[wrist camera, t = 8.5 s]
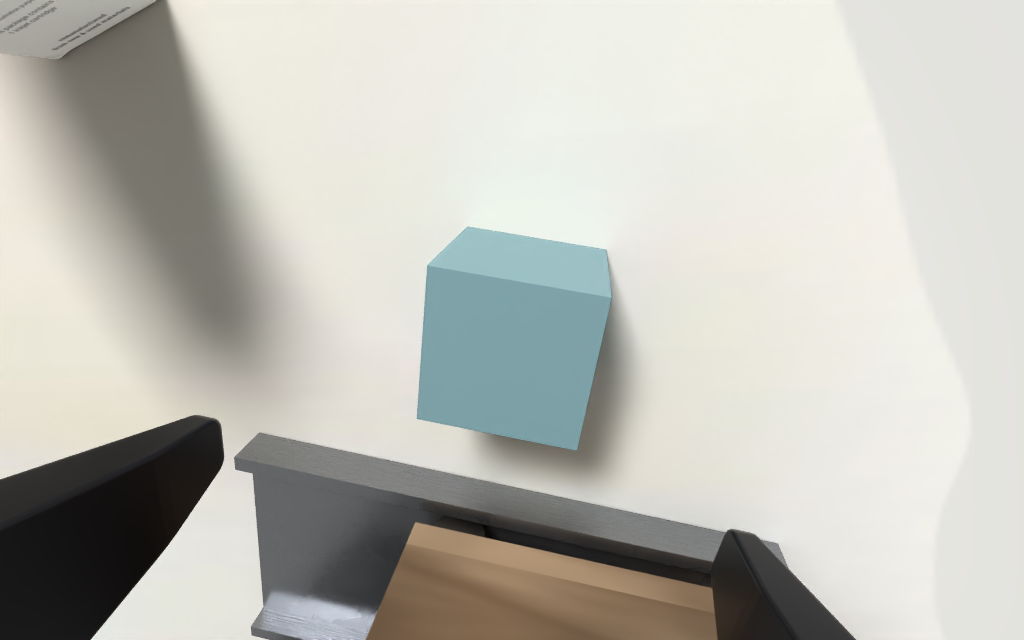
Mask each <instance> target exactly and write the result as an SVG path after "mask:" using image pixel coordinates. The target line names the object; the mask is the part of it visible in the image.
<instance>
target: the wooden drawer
mask: <svg viewBox="0 0 1024 640" xmlns="http://www.w3.org/2000/svg"><path fill="white" fill-rule="evenodd" d="M366 640H717V631H716V621H715V612H714V602H713V592H712V582H711V574H706V575H705V576H704V579H703V581H702V583H701V586H700V585H696V584H691V583H687V582H682V581H678V580H673V579H669V578H664V577H660V576H655V575H651V574H646V573H642V572H637V571H633V570H628V569H624V568H619V567H615V566H610V565H606V564H601V563H597V562H592V561H588V560H583V559H579V558H574V557H570V556H565V555H561V554H556V553H552V552H547V551H543V550H538V549H534V548H529V547H525V546H520V545H516V544H511V543H507V542H502V541H498V540H493V539H489V538H485V531H484V528H483V526H482V524H480V523H476V522H471V521H467V520H462V519H458V518H453V517H449V516H442V517H441V518H439V519H438V520H437V521H436V522H435V523H434V525H433V526H430V525H426V524H421V523H417V522H415V524H414V527H413V529H412V531H411V534H410V536H409V538H408V541H407V543H406V545H405V548H404V550H403V552H402V555H401V557H400V560H399V562H398V564H397V567H396V569H395V571H394V574H393V576H392V578H391V581H390V583H389V586H388V588H387V590H386V593H385V595H384V597H383V600H382V602H381V604H380V607H379V609H378V612H377V614H376V616H375V619H374V621H373V623H372V626H371V628H370V630H369V633H368V635H367V637H366Z"/></svg>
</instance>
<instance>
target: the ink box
mask: <svg viewBox="0 0 1024 640" xmlns="http://www.w3.org/2000/svg"><path fill="white" fill-rule="evenodd" d="M155 1H157V0H0V53H1V54H10V55H20V56H30V57H39V58H48V59H54V60H55V59H59V58H61V57H63V56H64V55H65V54H66V53H67V52H69V51H70V50H71V49H73V48H75V47H77V46H79V45H80V44H82V43H84V42H86V41H88V40H89V39H91V38H93V37H95V36H97V35H98V34H100V33H102V32H103V31H105V30H107V29H108V28H110V27H112V26H114V25H116V24H117V23H119V22H121V21H123V20H124V19H126V18H128V17H130V16H131V15H133V14H135V13H136V12H138V11H140V10H141V9H143V8H145V7H147V6H148V5H150V4H152V3H153V2H155Z"/></svg>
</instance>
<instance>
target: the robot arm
mask: <svg viewBox="0 0 1024 640" xmlns="http://www.w3.org/2000/svg"><path fill="white" fill-rule="evenodd" d="M223 461H224V448H223V439H222V429H221V424H220V422H219V421H218V420H216V419H214V418H210V417H205V416H200V415H193V416H190V417H187V418H184V419H181V420H178V421H175V422H172V423H169V424H166V425H163V426H160V427H157V428H154V429H151V430H148V431H145V432H142V433H139V434H136V435H133V436H130V437H127V438H124V439H121V440H118V441H115V442H112V443H109V444H106V445H103V446H100V447H97V448H94V449H91V450H88V451H85V452H81V453H78V454H75V455H72V456H69V457H66V458H63V459H60V460H57V461H54V462H51V463H48V464H45V465H42V466H39V467H36V468H33V469H30V470H27V471H24V472H21V473H18V474H15V475H12V476H9V477H6V478H3V479H0V640H91V639H92V637H93V636H94V635H95V634H96V633H97V631H98V630H99V629H100V628H101V627H102V625H103V624H104V623H105V622H106V620H107V619H108V618H109V617H110V616H111V614H112V613H113V612H114V611H115V610H116V608H117V607H118V606H119V605H120V603H121V602H122V601H123V600H124V599H125V597H126V596H127V595H128V594H129V593H130V591H131V590H132V589H133V588H134V587H135V585H136V584H137V583H138V582H139V580H140V579H141V578H142V577H143V576H144V574H145V573H146V572H147V571H148V570H149V568H150V567H151V566H152V565H153V563H154V562H155V561H156V560H157V559H158V557H159V556H160V555H161V554H162V552H163V551H164V550H165V548H166V547H167V546H168V545H169V543H170V542H171V540H172V539H173V538H174V536H175V535H176V534H177V532H178V531H179V529H180V528H181V526H182V525H183V523H184V522H185V520H186V519H187V518H188V516H189V515H190V513H191V512H192V510H193V509H194V507H195V506H196V504H197V503H198V501H199V500H200V498H201V497H202V495H203V494H204V493H205V491H206V490H207V488H208V487H209V485H210V484H211V482H212V481H213V479H214V478H215V476H216V475H217V473H218V472H219V470H220V469H221V467H222V464H223ZM711 582H712V592H713V602H714V612H715V621H716V631H717V640H856V639H855V638H854V637H853V636H852V635H851V634H850V633H849V632H848V631H847V630H846V628H845V627H844V626H843V625H842V624H841V623H840V622H839V621H838V620H837V619H836V618H835V617H834V616H833V615H832V614H831V613H830V612H829V611H828V610H827V609H826V608H825V607H824V605H823V604H822V603H821V602H820V601H819V600H818V599H817V598H816V597H815V596H814V595H813V594H812V593H811V592H810V591H809V590H808V589H807V588H806V587H805V586H804V585H803V584H802V583H801V581H800V580H799V579H798V578H797V577H796V576H795V575H794V574H793V573H792V572H791V571H790V570H789V569H788V568H787V567H786V566H785V565H784V564H783V563H782V562H781V561H780V560H779V558H778V557H777V556H776V555H775V554H774V553H773V552H772V551H771V550H770V549H769V548H768V547H767V546H766V545H765V544H764V543H763V542H762V541H761V540H760V539H759V538H758V537H757V536H756V535H755V534H753V533H750V532H745V531H740V530H736V529H730V530H728V531H727V532H726V533H725V535H724V537H723V539H722V542H721V544H720V547H719V549H718V551H717V554H716V556H715V559H714V561H713V564H712V568H711Z"/></svg>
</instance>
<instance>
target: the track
mask: <svg viewBox="0 0 1024 640" xmlns="http://www.w3.org/2000/svg"><path fill="white" fill-rule="evenodd" d="M234 460H235V470H240V471H244V472H249V473H253V481H254V494H255V506H256V518H257V531H258V543H259V555H260V568H261V580H262V592H263V605H264V608H263V609H262V611H261V612H260V614H259V615H258V617H257V618H256V620H255V621H254V623H253V624H252V626H251V633H252V635H253V636H257V637H261V638H265V639H269V640H366V637H367V635H368V633H369V630H370V628H371V626H372V623H373V621H374V619H375V616H376V614H377V612H378V609H379V607H380V604H381V602H382V600H383V597H384V595H385V593H386V590H387V588H388V586H389V583H390V581H391V578H392V576H393V574H394V571H395V569H396V567H397V564H398V562H399V560H400V557H401V555H402V552H403V550H404V548H405V545H406V543H407V541H408V538H409V536H410V534H411V531H412V529H413V527H414V524H415V522H417V523H421V524H426V525H430V526H433V525H434V523H435V522H436V521H437V520H438V519H439V518H441V517H442V516H449V517H453V518H458V519H462V520H467V521H471V522H476V523H480V524H482V526H483V528H484V531H485V538H489V539H493V540H498V541H502V542H507V543H511V544H516V545H520V546H525V547H529V548H534V549H538V550H543V551H547V552H552V553H556V554H561V555H565V556H570V557H574V558H579V559H583V560H588V561H592V562H597V563H601V564H606V565H610V566H615V567H619V568H624V569H628V570H633V571H637V572H642V573H646V574H651V575H655V576H660V577H664V578H669V579H673V580H678V581H682V582H687V583H691V584H696V585H700V586H701V583H702V581H703V579H704V576H705V575H706V574H711V568H712V564H713V561H714V559H715V556H716V554H717V551H718V549H719V547H720V544H721V542H722V539H723V537H724V535H725V532H720V531H716V530H711V529H706V528H702V527H697V526H692V525H688V524H683V523H678V522H674V521H669V520H664V519H660V518H655V517H650V516H646V515H641V514H636V513H632V512H627V511H622V510H618V509H613V508H608V507H604V506H599V505H594V504H590V503H585V502H580V501H576V500H571V499H566V498H561V497H557V496H552V495H547V494H543V493H538V492H533V491H529V490H524V489H519V488H515V487H510V486H505V485H501V484H496V483H491V482H487V481H482V480H477V479H473V478H468V477H463V476H459V475H454V474H449V473H445V472H440V471H435V470H431V469H426V468H421V467H417V466H412V465H407V464H403V463H398V462H393V461H389V460H384V459H379V458H375V457H370V456H365V455H361V454H356V453H351V452H347V451H342V450H337V449H332V448H328V447H323V446H318V445H314V444H309V443H304V442H300V441H295V440H290V439H286V438H281V437H276V436H272V435H267V434H262V433H259V434H257V435H256V436H255V437H254V438H253V439H252V440H251V441H250V442H249V443H248V444H247V445H246V446H245V447H244V448H243V449H242V450H241V451H240V452H239V453H238V454H237V455H236V456H235V457H234ZM761 541H762V540H761ZM762 542H763V543H764V544H765V545H766V546H767V547H768V548H769V549H770V550H771V551H772V552H773V553H774V554H775V555H776V556H777V557H778V558H779V560H780V561H781V562H782V563H783V564H784V565H785V566H786V567H787V568H788V566H787V564H786V562H785V559H784V557H783V555H782V552H781V550H780V548H779V545H778V544H776V543H772V542H767V541H762Z"/></svg>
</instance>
